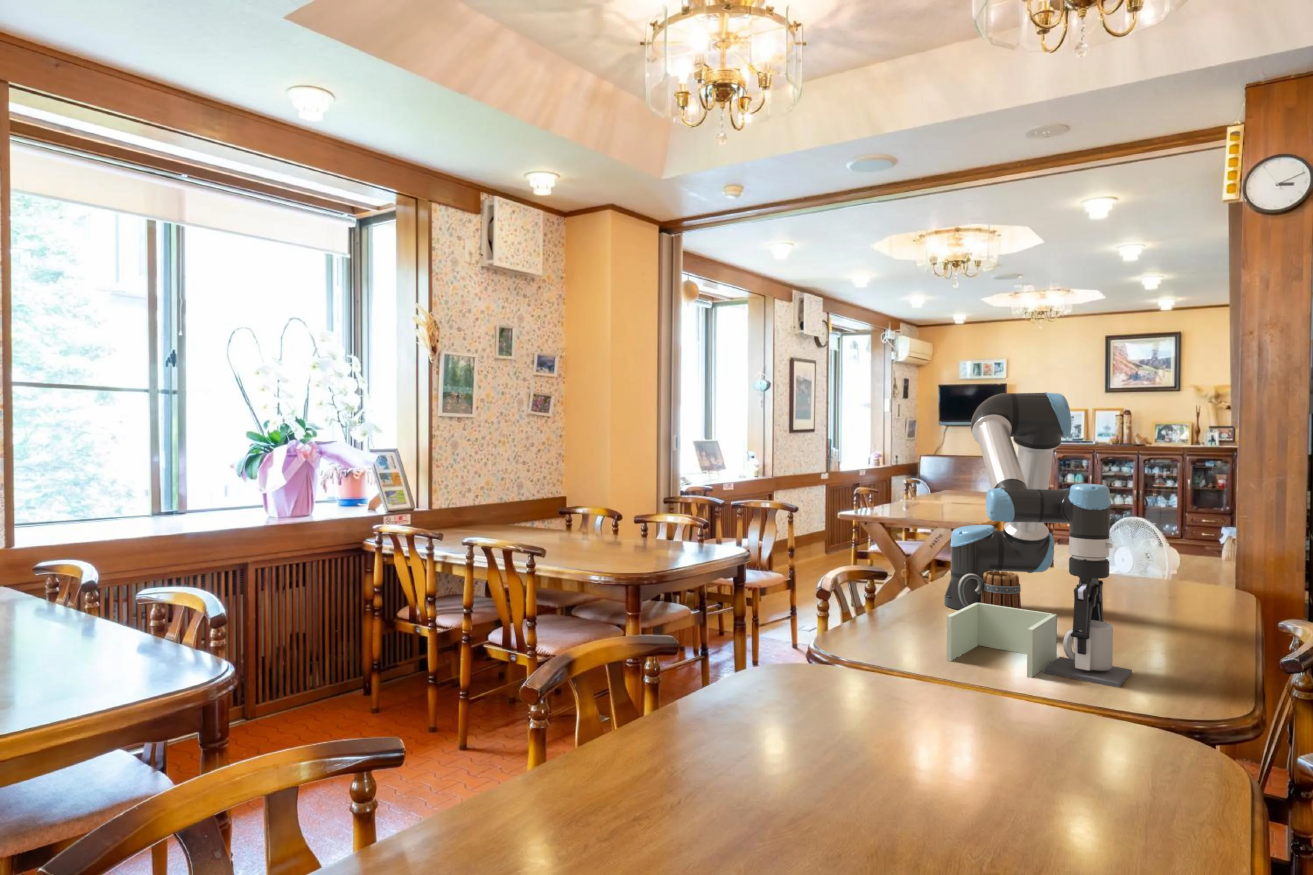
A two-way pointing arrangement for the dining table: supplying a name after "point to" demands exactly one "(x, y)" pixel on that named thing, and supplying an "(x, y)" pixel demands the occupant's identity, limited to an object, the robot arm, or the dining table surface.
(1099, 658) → the cup
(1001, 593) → the mug
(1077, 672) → the mat
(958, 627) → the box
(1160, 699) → the dining table surface
